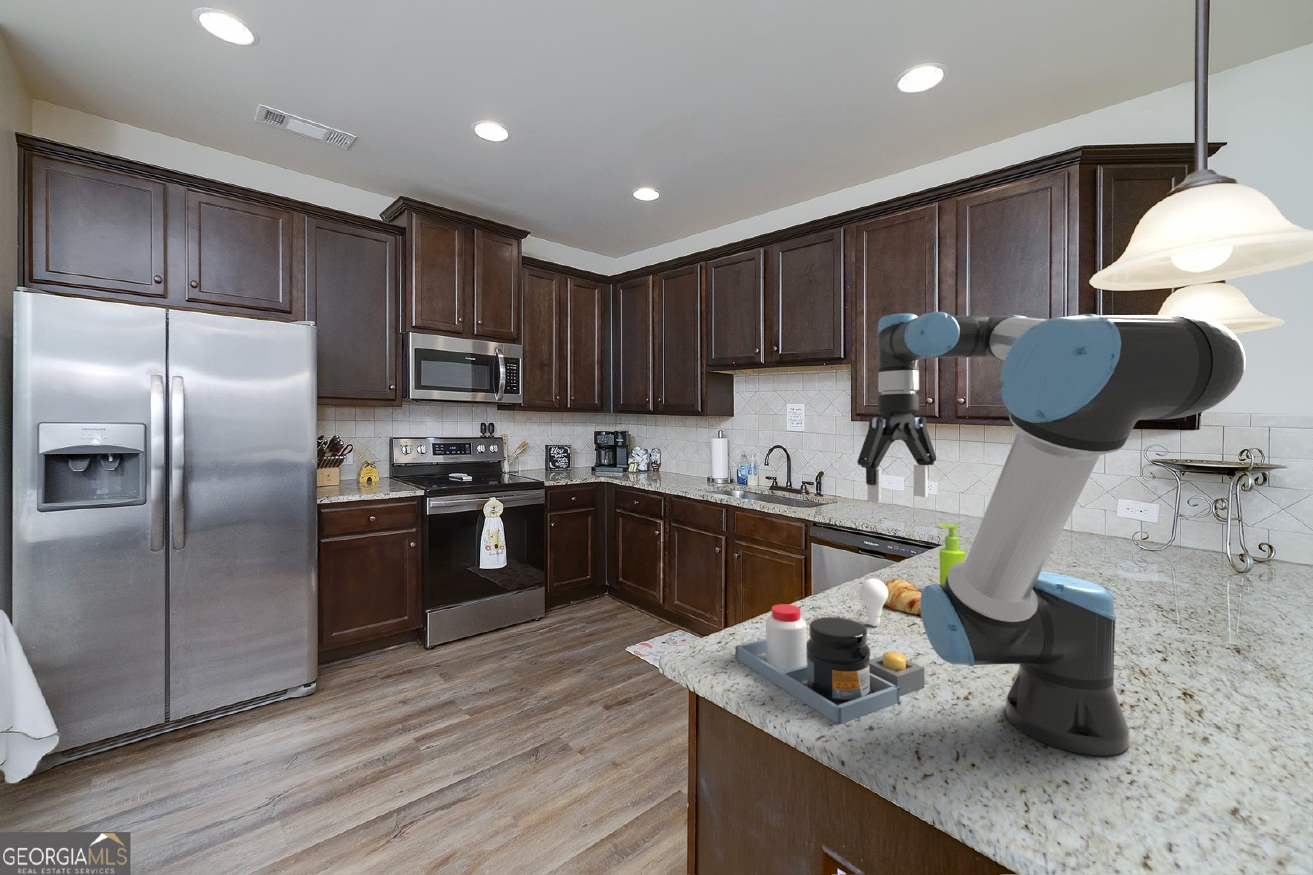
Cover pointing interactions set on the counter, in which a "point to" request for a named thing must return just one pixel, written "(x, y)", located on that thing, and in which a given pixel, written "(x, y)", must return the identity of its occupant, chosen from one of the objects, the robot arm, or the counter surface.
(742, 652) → the frame
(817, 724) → the counter surface
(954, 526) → the soap dispenser
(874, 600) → the lightbulb
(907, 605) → the croissant
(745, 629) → the counter surface
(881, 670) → the grey egg holder
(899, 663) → the button
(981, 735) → the counter surface
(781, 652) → the pill bottle
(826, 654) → the supplement container
